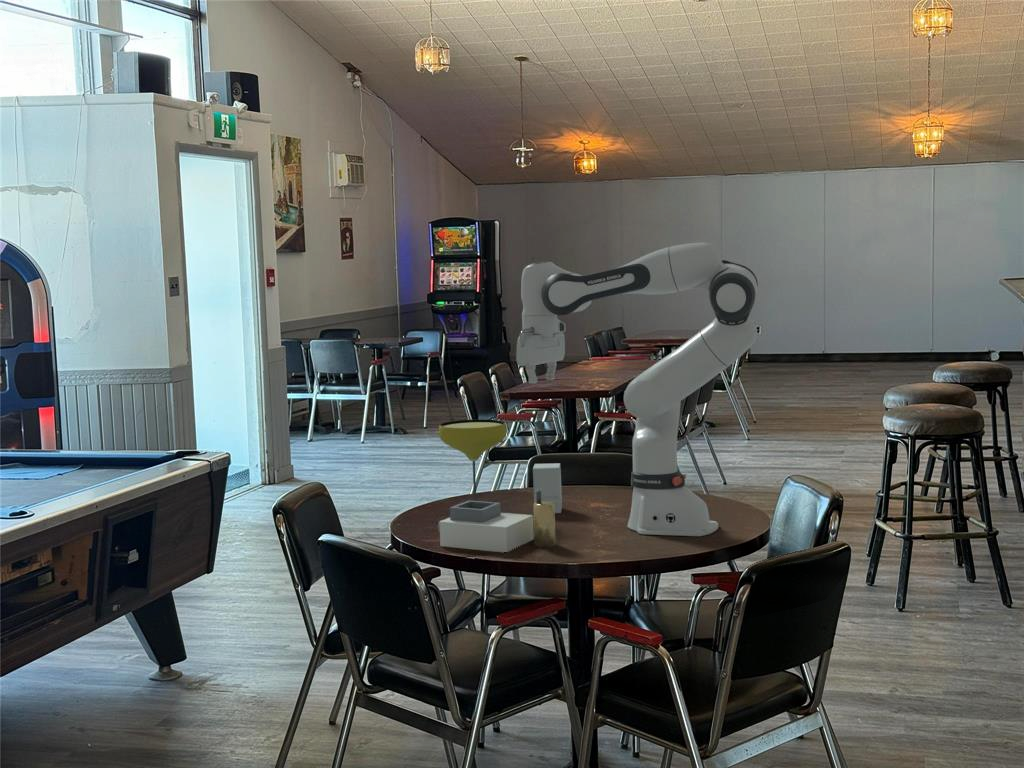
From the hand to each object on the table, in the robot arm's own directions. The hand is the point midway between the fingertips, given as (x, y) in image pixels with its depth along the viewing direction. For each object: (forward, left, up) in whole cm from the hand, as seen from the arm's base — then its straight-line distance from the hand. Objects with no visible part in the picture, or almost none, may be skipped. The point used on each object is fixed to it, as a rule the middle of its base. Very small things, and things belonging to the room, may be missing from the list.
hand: (541, 381), depth 281 cm
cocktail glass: (+24, -5, -38) cm, 45 cm away
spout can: (-8, +17, -37) cm, 42 cm away
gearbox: (+8, +21, -37) cm, 43 cm away
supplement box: (+8, -18, -38) cm, 42 cm away
